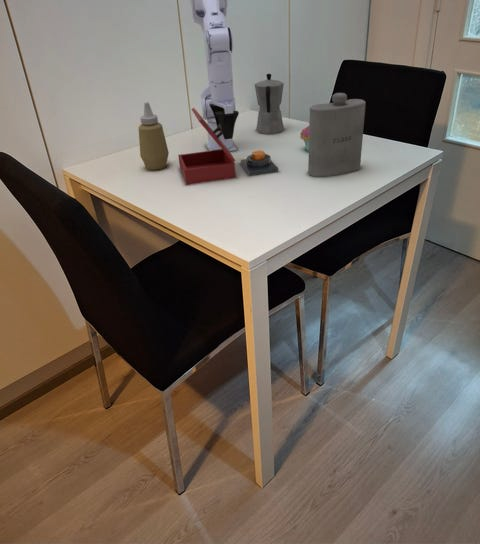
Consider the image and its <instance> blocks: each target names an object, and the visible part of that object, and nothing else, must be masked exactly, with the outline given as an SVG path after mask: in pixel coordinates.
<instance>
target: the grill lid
mask: <svg viewBox="0 0 480 544" xmlns="http://www.w3.org/2000/svg"><path fill="white" fill-rule="evenodd" d="M191 111H192V113H193V114H194V116H195V118H196V119H197V121H198V123H200V124H201V126H202V127H203V128H204V129H205V131H206V132H207V134H208V133H209V134H210V135H211V136H212V138H213V139H214V140H215V141H216V142H217V144H218V145H219V146H220V147H221V148H222V150H223V151H224V152H225V153H226V154H227V156H228V157H229V158H230V159H231V160H232V161H233V162H234V163H235V162H236V159H235V157H234V155H232V153H231V151H229V150H228V149H227V147H226V146H225V145H224V143H223V142H222V141H221V140H220V139H219V137H220V136H221V135H222V134H223V132H222V128H221V124H220V123H219V124H218V127H217V128H216V129H215V130H214V131H213V130H212V129H211V128H210V127H209V125H208V122H207V121H206V120H205V119H204V118H203V116H201V114H200V113H199V112H198V111H197V109H195V107H193V108H191ZM219 130H221V132H220V133H218V134H217V135H216V133H217V132H218V131H219Z"/></svg>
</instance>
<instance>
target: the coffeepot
mask: <svg viewBox="0 0 480 544" xmlns="http://www.w3.org/2000/svg"><path fill="white" fill-rule="evenodd" d="M265 76H266V79H264V80H259V81H258V82H256V83H254V84H253V85H254V88H255V95H256V101H257V105H258V107H259V110H258V114H257V121H256V130H255V131H257V132H258V133H259V134H264V135H274V134H279V133H281V132H283V130H284V129H285V127H284V121H283V115H282V110H281V104H282V101H283V94H284V93H283V92H284V85H285V82H283V81H281V80H277V79H272V74H271V73H267V74H265Z"/></svg>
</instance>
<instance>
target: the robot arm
mask: <svg viewBox="0 0 480 544" xmlns="http://www.w3.org/2000/svg"><path fill="white" fill-rule="evenodd" d="M190 7H191V14H192V19H193V22H194V23H195V24H198V25H199V26H200V28H201V31H202V35H203V42H204V43H203V44H204V50H205V63H206V72H207V79H208V80H207V81H208V85H207V87H205V88H204V89H203V90H202V91H201V94H200V105H201V114H202V118H203V119H204V121H206V123H207V124H208V125H209V127H210V128H211V129H212V130H213V131H214V130H215V129H216V128H217V127H218V124H219V123H220V124H221V128H222V132H223V134H222V135H221V136H220V137H219V139H220V140H221V141H222V142H223V143H224V145H225V146H226V147H227V149H228V150H229V152H235V151H237V150H238V149H237V147H236V146H235V145H234V142H233V141H234V140H233V138H234V133H235V125H236V122H237V119H238V117H239V114H240V112H239V111H238V110H236V99H235V95H234V81H233V80H234V78H233V62H232V61H233V60H232V53H233V49H234V38H233V31H232V28H231V26H229V25H228V23H227V19H226V17H227V11H228V10H227V8H228V0H190ZM220 132H221V130H219V131H218V132H217V133H216V135H217V134H218V133H220ZM207 139H208V142H206V143H205V146H206V147H207V149H208V151H212V150H219V149H222V148H221V147H220V146H219V145H218V144H217V142H216V141H215V140H214V139H213V138H212V136H211V135H210V134H209V133H208V132H207Z"/></svg>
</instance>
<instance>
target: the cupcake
mask: <svg viewBox="0 0 480 544" xmlns="http://www.w3.org/2000/svg"><path fill="white" fill-rule="evenodd" d="M299 134H300V137H299V138H300V140H303V142H304V144H305V148H306V151H307V152H309V125H308V126H305V128H303V129H302V130H301V132H300V133H299Z"/></svg>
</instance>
